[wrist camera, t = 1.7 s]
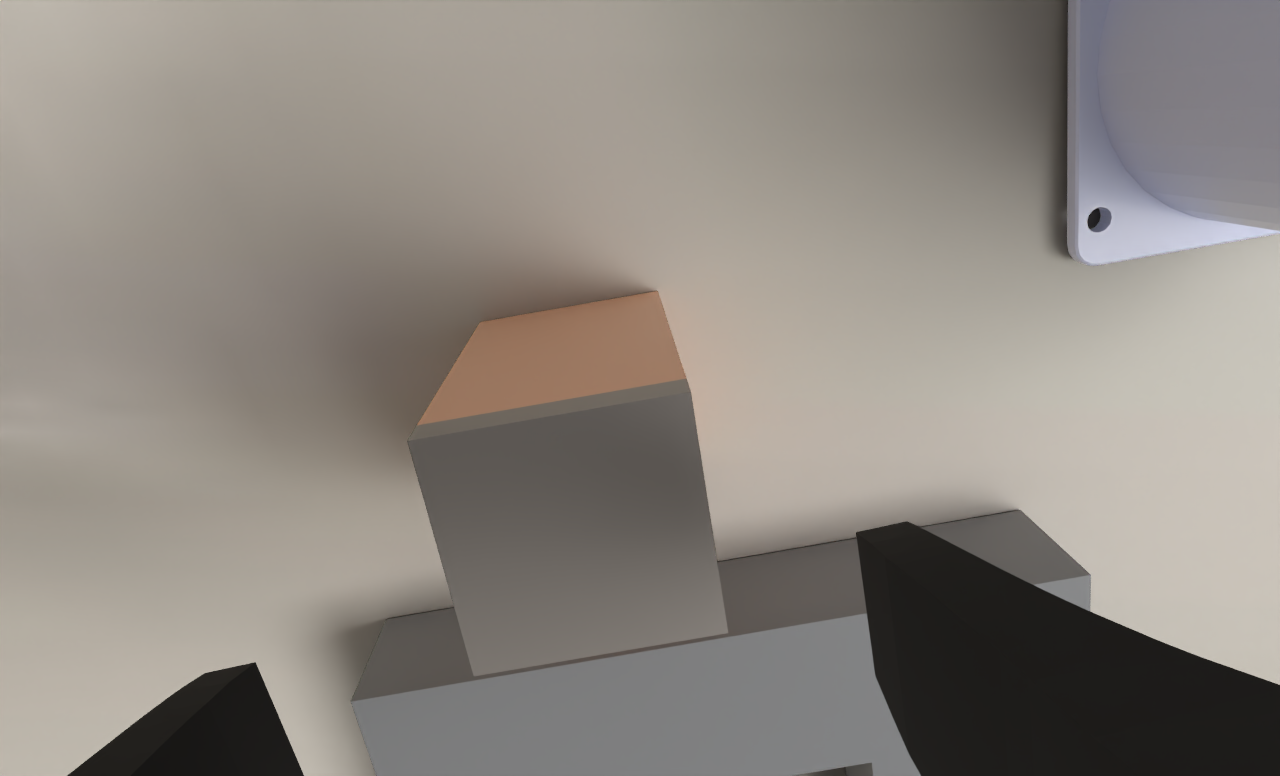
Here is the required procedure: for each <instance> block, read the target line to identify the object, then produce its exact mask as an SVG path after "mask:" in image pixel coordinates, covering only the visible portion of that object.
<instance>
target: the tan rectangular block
mask: <svg viewBox="0 0 1280 776" xmlns="http://www.w3.org/2000/svg"><path fill="white" fill-rule="evenodd" d="M407 442H408V445H409V449H410V452H411V456H412V459H413V463H414V467H415V470H416V474H417V477H418V481H419V484H420V488H421V491H422V495H423V498H424V502H425V505H426V509H427V513H428V516H429V520H430V523H431V527H432V530H433V534H434V537H435V541H436V544H437V548H438V551H439V555H440V559H441V562H442V566H443V569H444V573H445V576H446V580H447V583H448V587H449V590H450V594H451V597H452V601H453V605H454V608H455V612H456V615H457V619H458V622H459V626H460V629H461V633H462V636H463V640H464V643H465V647H466V651H467V654H468V658H469V661H470V665H471V668H472V672H473V675H474V676H479V675H485V674H491V673H497V672H503V671H509V670H514V669H520V668H526V667H532V666H538V665H544V664H550V663H556V662H561V661H567V660H573V659H579V658H585V657H591V656H597V655H603V654H608V653H614V652H620V651H626V650H632V649H638V648H644V647H650V646H655V645H661V644H667V643H673V642H679V641H685V640H691V639H696V638H702V637H708V636H714V635H720V634H726V633H728V628H727V621H726V615H725V608H724V602H723V596H722V589H721V583H720V576H719V570H718V564H717V557H716V551H715V544H714V538H713V531H712V525H711V519H710V512H709V506H708V499H707V493H706V487H705V480H704V474H703V467H702V461H701V455H700V448H699V442H698V435H697V429H696V422H695V416H694V410H693V403H692V397H691V391H690V388H689V385H688V382H687V379H686V376H685V373H684V370H683V367H682V364H681V361H680V358H679V355H678V352H677V348H676V345H675V342H674V339H673V336H672V333H671V330H670V327H669V324H668V321H667V318H666V315H665V312H664V309H663V306H662V303H661V300H660V297H659V294H658V291H654V292H648V293H642V294H637V295H631V296H625V297H620V298H614V299H608V300H603V301H597V302H591V303H585V304H580V305H574V306H568V307H563V308H557V309H551V310H545V311H540V312H534V313H528V314H523V315H517V316H511V317H506V318H500V319H494V320H488V321H483V322H480V323H479V324H478V326H477V328H476V329H475V331H474V333H473V334H472V336H471V338H470V339H469V341H468V342H467V344H466V346H465V347H464V349H463V351H462V352H461V354H460V356H459V357H458V359H457V360H456V362H455V364H454V365H453V367H452V369H451V370H450V372H449V373H448V375H447V377H446V378H445V380H444V382H443V383H442V385H441V387H440V388H439V390H438V391H437V393H436V395H435V396H434V398H433V400H432V401H431V403H430V405H429V406H428V408H427V409H426V411H425V413H424V414H423V416H422V418H421V419H420V421H419V423H418V424H417V426H416V427H415V429H414V431H413V432H412V434H411V436H410V437H409V439H408V441H407Z"/></svg>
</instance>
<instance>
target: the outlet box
mask: <svg viewBox="0 0 1280 776" xmlns="http://www.w3.org/2000/svg"><path fill="white" fill-rule="evenodd" d="M920 528H922V529H924V530H926V531H928V532H930V533H932V534H934V535H936V536H938V537H940V538H942V539H944V540H946V541H948V542H950V543H952V544H954V545H956V546H958V547H960V548H962V549H963V550H965V551H967V552H969V553H971V554H973V555H975V556H977V557H979V558H981V559H983V560H985V561H987V562H989V563H991V564H992V565H994V566H996V567H998V568H1000V569H1002V570H1004V571H1006V572H1008V573H1010V574H1012V575H1014V576H1016V577H1018V578H1020V579H1022V580H1024V581H1026V582H1028V583H1030V584H1032V585H1035V586H1037V587H1039V588H1041V589H1043V590H1045V591H1047V592H1049V593H1051V594H1053V595H1055V596H1057V597H1060V598H1062V599H1064V600H1066V601H1068V602H1070V603H1072V604H1075V605H1077V606H1079V607H1081V608H1083V609H1086V610H1088V611H1090V593H1091V575H1090V574H1089V573H1088V572H1087V571H1086V570H1085V569H1084V568H1083V567H1082V566H1081V565H1079V564H1078V563H1077V562H1076V561H1075V560H1074V559H1073V558H1072V557H1071V556H1070V555H1069V554H1068V553H1066V552H1065V551H1064V550H1063V549H1062V548H1061V547H1060V546H1059V545H1058V544H1057V543H1056V542H1055V541H1053V540H1052V539H1051V538H1050V537H1049V536H1048V535H1047V534H1046V533H1045V532H1044V531H1043V530H1042V529H1040V528H1039V527H1038V526H1037V525H1036V524H1035V523H1034V522H1033V521H1032V520H1031V519H1030V518H1029V517H1027V516H1026V515H1025V514H1024V513H1023V512H1022V511H1021V510H1018V511H1012V512H1007V513H1001V514H995V515H989V516H983V517H977V518H972V519H966V520H960V521H954V522H948V523H943V524H937V525H931V526H925V527H920ZM717 564H718V570H719V576H720V583H721V589H722V596H723V602H724V608H725V615H726V621H727V628H728V633H726V634H720V635H714V636H708V637H702V638H696V639H691V640H685V641H679V642H673V643H667V644H661V645H655V646H650V647H644V648H638V649H632V650H626V651H620V652H614V653H608V654H603V655H597V656H591V657H585V658H579V659H573V660H567V661H561V662H556V663H550V664H544V665H538V666H532V667H526V668H520V669H514V670H509V671H503V672H497V673H491V674H485V675H479V676H474V675H473V672H472V668H471V665H470V661H469V658H468V654H467V651H466V647H465V643H464V640H463V636H462V633H461V629H460V626H459V622H458V619H457V615H456V612H455V608H449V609H443V610H437V611H432V612H426V613H420V614H414V615H408V616H403V617H397V618H391V619H386V621H385V624H384V626H383V628H382V630H381V633H380V635H379V637H378V640H377V642H376V644H375V647H374V649H373V651H372V654H371V656H370V658H369V661H368V663H367V665H366V668H365V670H364V672H363V674H362V677H361V679H360V681H359V684H358V686H357V688H356V691H355V693H354V695H353V698H352V700H351V704H352V707H353V710H354V713H355V716H356V718H357V721H358V724H359V727H360V730H361V733H362V736H363V739H364V742H365V744H366V747H367V750H368V753H369V756H370V759H371V762H372V765H373V768H374V770H375V773H376V776H794V775H800V774H806V773H812V772H818V771H824V770H830V769H836V768H842V767H845V769H846V776H921V775H920V773H919V771H918V769H917V768H916V766H915V764H914V762H913V761H912V759H911V757H910V755H909V753H908V751H907V749H906V746H905V744H904V742H903V740H902V737H901V735H900V733H899V731H898V728H897V726H896V724H895V721H894V719H893V717H892V714H891V712H890V710H889V707H888V705H887V703H886V700H885V698H884V695H883V693H882V691H881V688H880V686H879V684H878V681H877V679H876V676H875V670H874V663H873V655H872V648H871V640H870V633H869V626H868V618H867V611H866V603H865V596H864V588H863V581H862V574H861V566H860V559H859V551H858V544H857V538H856V539H850V540H844V541H838V542H832V543H826V544H821V545H815V546H809V547H803V548H797V549H792V550H786V551H780V552H774V553H768V554H763V555H757V556H751V557H745V558H739V559H734V560H728V561H722V562H717Z"/></svg>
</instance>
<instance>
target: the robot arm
mask: <svg viewBox="0 0 1280 776" xmlns="http://www.w3.org/2000/svg"><path fill="white" fill-rule="evenodd" d="M1097 208H1098V209H1099V210H1100V214H1101V217H1100V221H1099V223H1098V224H1097V225H1096V226H1095V227H1094V228H1092V229H1089V228H1088V224H1087V220H1088V216H1089V214H1090V213H1091V212H1092V211H1093V210H1094V209H1097ZM1275 234H1280V0H1068V137H1067V247H1068V252H1069V254H1070V255H1071V257H1072V258H1073V259H1074V260H1076V261H1078V262H1080V263H1082V264H1086V265H1093V266H1098V265H1104V264H1109V263H1115V262H1121V261H1127V260H1132V259H1138V258H1144V257H1149V256H1155V255H1161V254H1167V253H1172V252H1178V251H1184V250H1189V249H1195V248H1201V247H1207V246H1212V245H1218V244H1224V243H1230V242H1235V241H1241V240H1247V239H1252V238H1258V237H1264V236H1270V235H1275ZM856 537H857V544H858V551H859V559H860V566H861V574H862V581H863V588H864V596H865V603H866V611H867V618H868V626H869V633H870V640H871V648H872V655H873V663H874V670H875V676H876V679H877V681H878V684H879V686H880V688H881V691H882V693H883V695H884V698H885V700H886V703H887V705H888V707H889V710H890V712H891V714H892V717H893V719H894V721H895V724H896V726H897V728H898V731H899V733H900V735H901V737H902V740H903V742H904V744H905V746H906V749H907V751H908V753H909V755H910V757H911V759H912V761H913V762H914V764H915V766H916V768H917V769H918V771H919V773H920V775H921V776H1280V685H1278V684H1275V683H1272V682H1270V681H1267V680H1264V679H1261V678H1258V677H1255V676H1253V675H1250V674H1247V673H1244V672H1241V671H1238V670H1235V669H1233V668H1230V667H1227V666H1224V665H1221V664H1218V663H1216V662H1213V661H1210V660H1207V659H1204V658H1201V657H1199V656H1196V655H1194V654H1191V653H1188V652H1186V651H1183V650H1181V649H1178V648H1175V647H1173V646H1170V645H1168V644H1165V643H1163V642H1160V641H1158V640H1155V639H1153V638H1151V637H1148V636H1146V635H1144V634H1141V633H1139V632H1137V631H1134V630H1132V629H1129V628H1127V627H1125V626H1122V625H1120V624H1118V623H1115V622H1113V621H1111V620H1108V619H1106V618H1104V617H1101V616H1099V615H1097V614H1094V613H1092V612H1090V611H1088V610H1086V609H1083V608H1081V607H1079V606H1077V605H1075V604H1072V603H1070V602H1068V601H1066V600H1064V599H1062V598H1060V597H1057V596H1055V595H1053V594H1051V593H1049V592H1047V591H1045V590H1043V589H1041V588H1039V587H1037V586H1035V585H1032V584H1030V583H1028V582H1026V581H1024V580H1022V579H1020V578H1018V577H1016V576H1014V575H1012V574H1010V573H1008V572H1006V571H1004V570H1002V569H1000V568H998V567H996V566H994V565H992V564H991V563H989V562H987V561H985V560H983V559H981V558H979V557H977V556H975V555H973V554H971V553H969V552H967V551H965V550H963V549H962V548H960V547H958V546H956V545H954V544H952V543H950V542H948V541H946V540H944V539H942V538H940V537H938V536H936V535H934V534H932V533H930V532H928V531H926V530H924V529H922V528H920V527H918V526H916V525H914V524H912V523H909V522H902V523H898V524H893V525H888V526H884V527H879V528H875V529H870V530H865V531H861V532H856ZM68 776H304V775H303V772H302V770H301V768H300V765H299V763H298V761H297V758H296V756H295V754H294V751H293V749H292V747H291V744H290V742H289V740H288V737H287V735H286V733H285V730H284V728H283V726H282V723H281V721H280V719H279V716H278V714H277V712H276V709H275V707H274V705H273V702H272V700H271V698H270V695H269V693H268V691H267V688H266V686H265V683H264V681H263V679H262V676H261V674H260V672H259V669H258V667H257V665H256V662H255V663H250V664H245V665H241V666H236V667H232V668H227V669H222V670H218V671H213V672H208V673H205V674H203V675H201V676H200V677H198V678H197V679H195V680H194V681H192V682H190V683H189V684H187V685H186V686H184V687H183V688H181V689H180V690H178V691H177V692H176V693H174V694H173V695H171V696H170V697H169V698H167V699H166V700H165V701H163V702H162V703H160V704H159V705H158V706H156V707H155V708H154V709H152V710H151V711H150V712H148V713H147V714H146V715H144V716H143V717H142V718H141V719H139V720H138V721H137V722H135V723H134V724H133V725H131V726H130V727H129V728H128V729H126V730H125V731H124V732H122V733H121V734H120V735H119V736H117V737H116V738H115V739H113V740H112V741H111V742H110V743H108V744H107V745H106V746H105V747H103V748H102V749H101V750H99V751H98V752H97V753H96V754H94V755H93V756H92V757H91V758H89V759H88V760H87V761H85V762H84V763H83V764H82V765H80V766H79V767H78V768H76V769H75V770H74V771H73V772H71V773H70V774H69V775H68Z"/></svg>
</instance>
